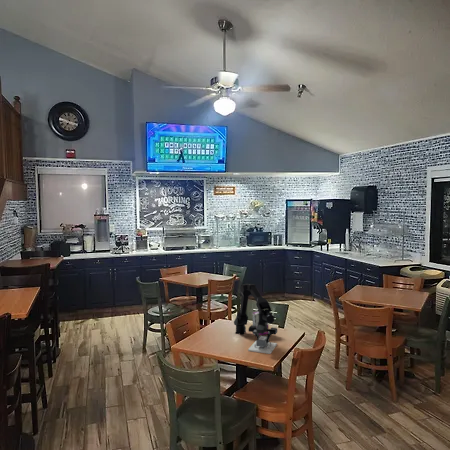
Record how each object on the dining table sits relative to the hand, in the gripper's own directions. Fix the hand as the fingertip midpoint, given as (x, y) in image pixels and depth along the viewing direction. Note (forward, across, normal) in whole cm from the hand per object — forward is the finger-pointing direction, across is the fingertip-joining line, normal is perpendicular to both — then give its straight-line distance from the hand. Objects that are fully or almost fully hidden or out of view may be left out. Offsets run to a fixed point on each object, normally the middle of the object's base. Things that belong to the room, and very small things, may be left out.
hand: (262, 342), depth 259 cm
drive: (+1, 0, 0) cm, 1 cm away
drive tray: (+4, 0, 0) cm, 4 cm away
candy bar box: (+4, -9, +26) cm, 28 cm away
